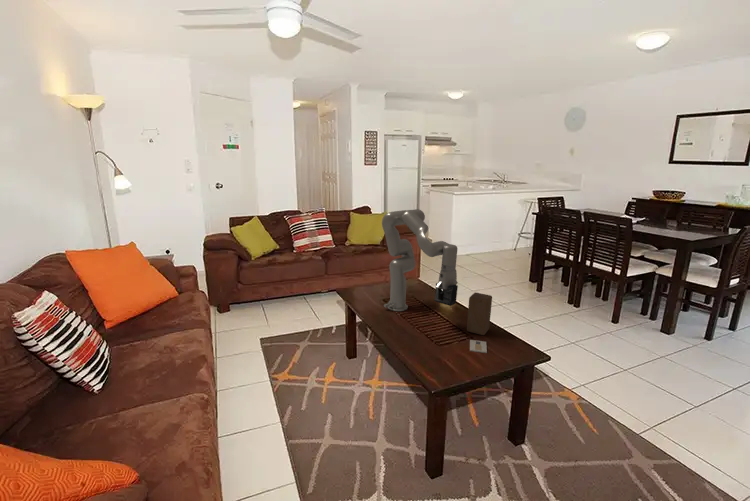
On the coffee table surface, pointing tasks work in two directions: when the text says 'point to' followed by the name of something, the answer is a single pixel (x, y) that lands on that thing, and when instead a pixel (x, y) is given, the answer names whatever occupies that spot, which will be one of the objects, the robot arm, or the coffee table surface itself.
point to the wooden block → (479, 313)
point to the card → (478, 346)
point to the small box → (447, 295)
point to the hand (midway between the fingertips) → (445, 297)
